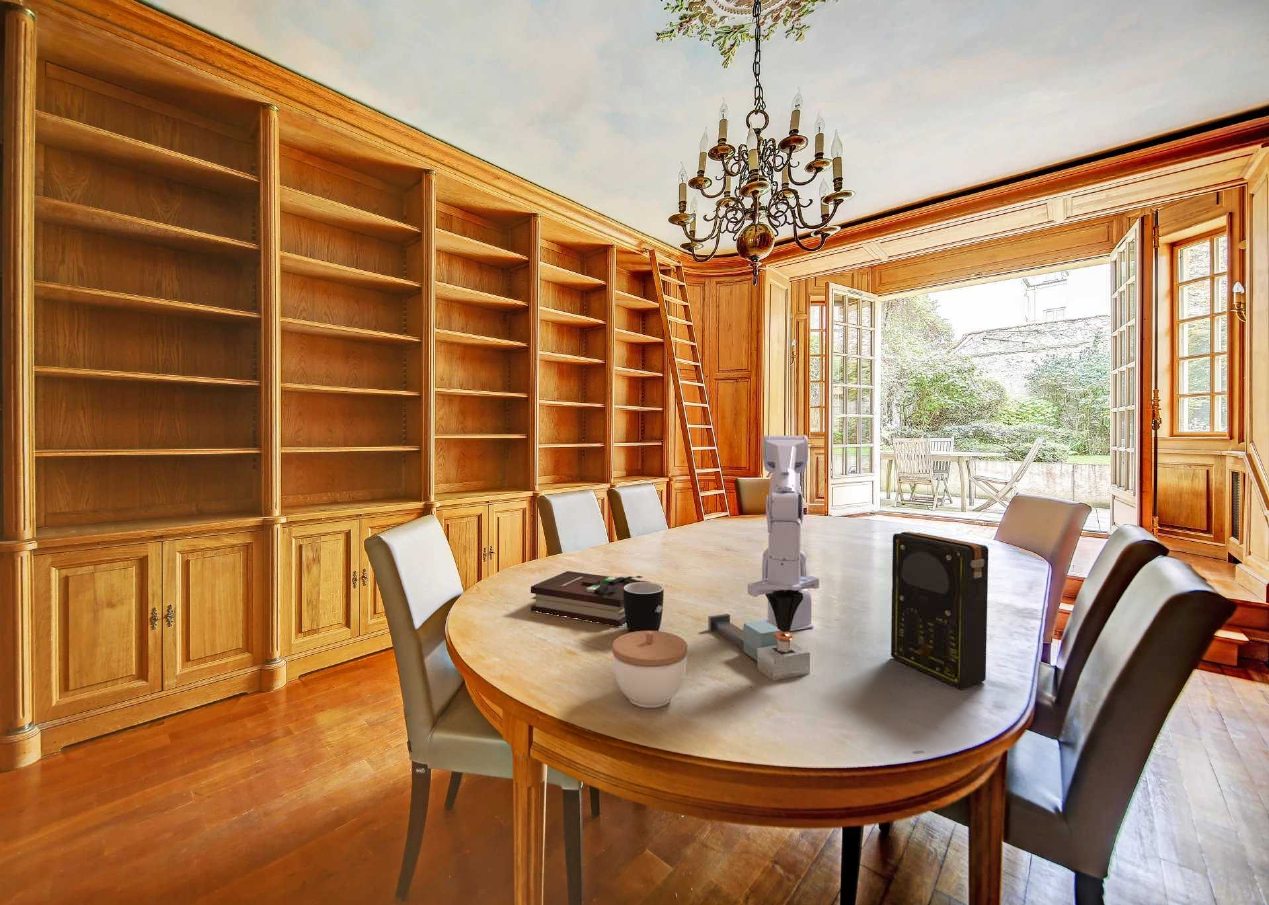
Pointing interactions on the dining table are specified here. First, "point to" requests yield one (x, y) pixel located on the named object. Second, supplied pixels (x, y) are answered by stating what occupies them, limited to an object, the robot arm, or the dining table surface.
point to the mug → (643, 606)
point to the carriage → (758, 636)
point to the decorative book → (583, 597)
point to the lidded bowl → (649, 666)
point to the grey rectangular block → (783, 662)
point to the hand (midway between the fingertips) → (783, 630)
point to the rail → (726, 629)
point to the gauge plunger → (783, 642)
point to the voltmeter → (940, 607)
